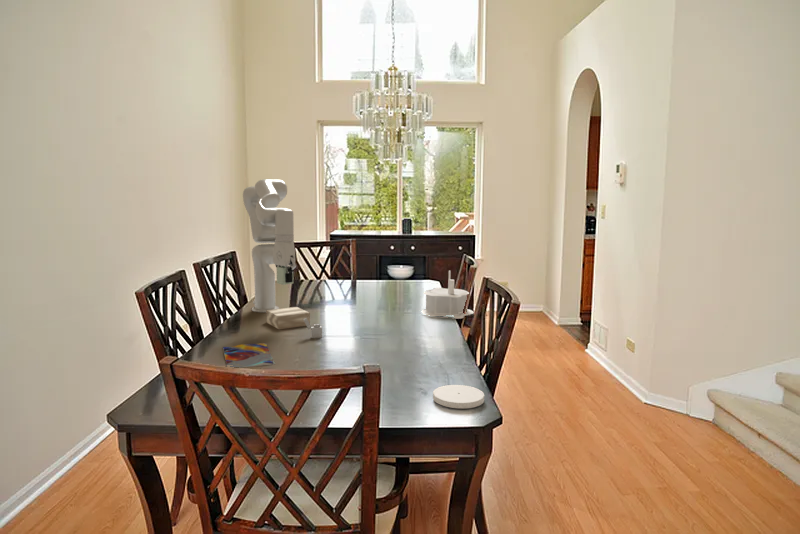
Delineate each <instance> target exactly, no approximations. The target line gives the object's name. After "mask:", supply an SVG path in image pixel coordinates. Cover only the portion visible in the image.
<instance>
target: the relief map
mask: <svg viewBox="0 0 800 534" xmlns="http://www.w3.org/2000/svg"><path fill="white" fill-rule="evenodd" d="M222 350H223V356H224V361H225V360H226V361H225V365H226V366H227V365H233V366H230V367H239V368H238V369H241V368H251V367H262V366H272V365H273V366H274V365H276V362H275V361H274V360H275V359H274V358H273V356H272V354H271V351H270V349H269V347H268V344H267V343H266V342H261V343H243V344H237V345H233V346H222Z"/></svg>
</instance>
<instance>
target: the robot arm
mask: <svg viewBox="0 0 800 534" xmlns="http://www.w3.org/2000/svg"><path fill="white" fill-rule="evenodd" d="M287 195H288V186H287V184H286V182H285V181H284V180H283V179H266V178H264V179H260V180H258V181H257V182H256V183H255V185H253V186H252V185H251V186H247V187H246V188H244V190H243V192H242V199H243V201H242V202H243V204H244V205H243V206H244V207H245V210H246V212H247V214H248V217H249V222H250V228H251V229H250V230H251V236H252V239H253V241H254V242H255V243H257V245H255V246H253V248H252V249H251V257H252V263H253V275H254V300H253V301H252V304H254V306H253V307H252V308H251V311H252V312H255V313H266V310H273V309H280V307H279V305H276V273H275V271H274V269H273V268H272V267H271V266H270V265H274V266H275V268H276V269H277V267H280V266H284V267H285V268H286V273H285V281H286V283H289V282H293V283H294V270H295V269H296V268H297V264H296V249H295V243H294V242H295V241H294V238H295V237H294V235H295V234H294V231H295V230H294V211H293V210H292V209H290V208H288V207H278V206H279V204H281V202H282V201H283V200H284V199H285V198H286V197H287ZM288 267H290V268H289V269H288ZM292 273H293V274H292Z"/></svg>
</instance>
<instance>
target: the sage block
mask: <svg viewBox="0 0 800 534" xmlns="http://www.w3.org/2000/svg"><path fill="white" fill-rule="evenodd" d="M289 268H290V267H288V269H289ZM285 273H286V268H285V267H284V266H280V267H277V268H276V284H278V285H283V286H284V285H292V284H293V285H294V281H293V282H289V283H286V281H285ZM292 274H293V275H294V272H293V273H292Z"/></svg>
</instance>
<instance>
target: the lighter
mask: <svg viewBox="0 0 800 534" xmlns="http://www.w3.org/2000/svg"><path fill="white" fill-rule="evenodd" d="M303 320H304V322H305V324H306V327H307V329H308V330H310V338H311V339H318V338H321V337H322V338H323V327H322V326H321V324H315V323H314V324H313V326H311V323H310V324H309V322H308V320H307V318H305V319H303Z"/></svg>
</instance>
